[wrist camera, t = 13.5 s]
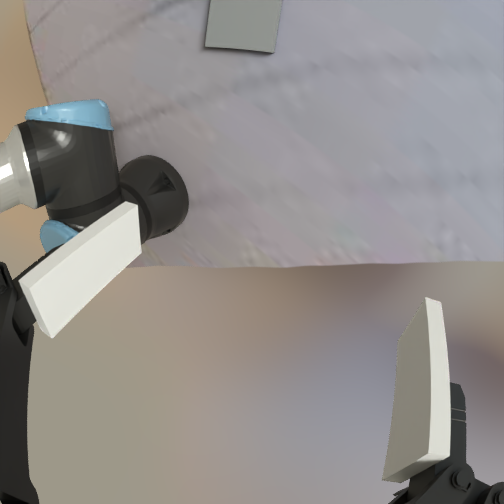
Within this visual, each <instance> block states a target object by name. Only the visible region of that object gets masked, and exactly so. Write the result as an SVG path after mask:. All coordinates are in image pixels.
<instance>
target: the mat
mask: <svg viewBox="0 0 504 504" xmlns="http://www.w3.org/2000/svg"><path fill="white" fill-rule="evenodd" d="M281 5H282V0H211V3H210V10H209V17H208V25H207V33H206V41H205V47H220V48H234V49H245V50H255V51H263V52H271V53H274V51H275V44H276V38H277V31H278V25H279V18H280V12H281Z"/></svg>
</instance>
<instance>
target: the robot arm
mask: <svg viewBox="0 0 504 504" xmlns="http://www.w3.org/2000/svg"><path fill="white" fill-rule="evenodd" d="M25 119H26V120H27V121H26V122H23V123H20V124H17V125H15V126H14V127H13V129H12V131H11V132H10V134H9V136H8V138H7V139H6V140H5V141H4V142H2V143H0V213H1V212H4V211H6V210H8V209H10V208H12V207H14V206H16V205H18V204H24V205H27V206H29V207H31V208H33V209H37V208H39V207H41V206H44V205H46V209H47V213H48V216H49V220H47V221H45V222H44V224H43V225H42V227H41V229H40V239H41V242H42V245H43V247H44V249H45V251H46V254H45V256H42V257H41V258H40V259H38V261H36V262H34V263H33V264H32V265H31V266H29V267H28V268H27V269H26V270H24V271H23V272H22V273H21V274H20V275H18V276H17V277H16V278H15V279H13V280H12V278H11V276H10V273H9V271H8V268H7V266H6V264H5V263H3V262H0V501H1V503H2V504H39V499H38V495H37V492H36V489H35V488H34V486H33V484H32V483H31V480H30V477H29V467H28V450H27V402H28V384H29V371H30V361H31V352H32V343H33V336H34V326H33V324H34V323H35V322H36V321H37V323H38V325H39V327H40V329H41V331H43V332H44V333H45V334H46V335H48V336H49V337H51V338H53V337H54V336H55V335H56V334H57V333H58V332H59V331H60V330H61V329H62V328H63V327H64V326H65V325H66V324H67V323H68V322H69V321H70V320H71V319H72V318H73V317H74V316H75V315H76V314H77V313H78V312H79V311H80V310H81V309H82V308H83V307H84V306H85V305H86V304H87V303H88V302H89V301H90V300H91V299H92V298H93V297H94V296H95V295H96V294H97V293H99V291H100V290H102V289H103V288H104V287H105V286H106V285H107V284H108V283H109V282H110V281H111V280H112V279H113V278H114V277H115V276H117V275H118V274H119V273H120V272H121V271H122V270H123V269H124V268H125V267H126V266H127V265H128V264H130V263H131V262H132V261H133V260H134V259H135V258H136V257H137V256H138V255H140V254H141V253H142V252H141V245H142V244H143V243H144V242H145V241H146V240H149V239H152V238H155V237H159V236H161V235H165V234H168V233H170V232H172V231H173V230H174V229H176V228H177V227H178V226H179V225H180V224H181V223H182V222H183V221H184V219H185V217H186V215H187V212H188V205H189V201H188V193H187V189H186V186H185V184H184V182H183V180H182V178H181V176H180V175H179V173H178V172H177V171H176V170H175V169H174V167H173V166H171V165H170V164H169V163H168V162H166V161H165V160H163V159H161V158H159V157H156V156H151V155H145V156H141V157H138V158H136V159H134V160H132V161H130V162H129V163H127V164H126V165H125V166H124V167H123V168H122V170H121V171H120V173H119V172H118V167H117V160H116V153H115V146H114V138H113V131H114V129H113V127H112V125H111V120H110V114H109V109H108V106H107V104H106V103H105V102H104V101H102V100H99V99H92V100H82V101H74V102H66V103H60V104H54V105H49V106H43V107H37V108H32V109H29V110H27V112H26V116H25ZM465 408H466V407H465V397H464V394H463V391H462V389H461V386H460V385H459V384H455V383H450V380H449V365H448V354H447V344H446V335H445V328H444V320H443V313H442V306H441V302H439V301H435V300H433V299H429V298H427V297H425V299H424V301H423V302H422V304H421V306H420V307H419V309H418V310H417V312H416V314H415V315H414V317H413V319H412V320H411V322H410V323H409V325H408V326H407V328H406V329H405V331H404V332H403V334H402V335H401V337H400V338H399V340H398V346H397V366H396V381H395V393H394V403H393V413H392V421H391V429H390V436H389V443H388V449H387V455H386V461H385V466H384V472H383V477H382V480H384V481H391V482H398V483H402V482H404V481H406V480H408V479H410V482H409V487H407V488H405V489H402V490H400V491H398V492H396V493H395V494H393V495H394V496H397V495H398V496H397V497H396V498H394V499H393V500H392V501H391V502H390V503H389V504H504V482H499V483H496V484H494V485H492V486H489V485H487V484H485V483H483V482H481V481H479V480H477V479H475V477H474V472H473V470H472V468H471V467H470V466H469V465H468V464H467V463H466V423H465V421H466V413H465V410H466V409H465Z"/></svg>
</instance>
